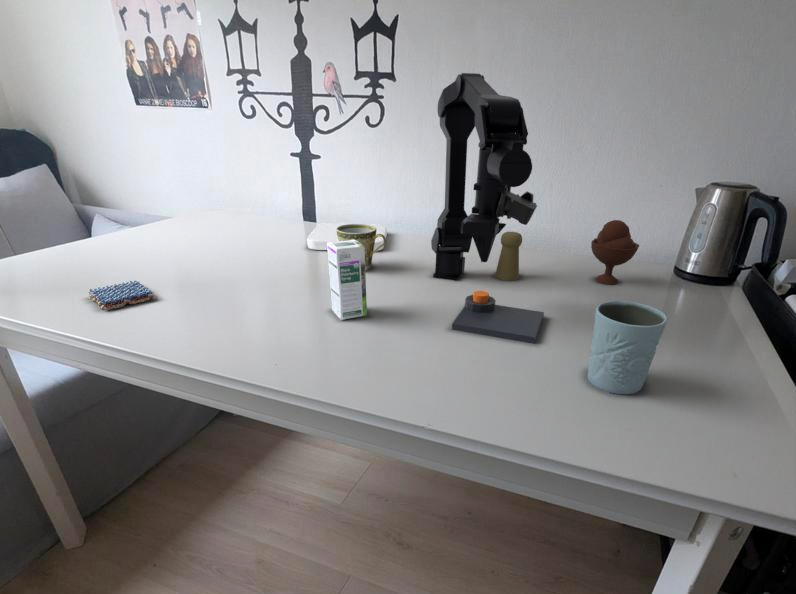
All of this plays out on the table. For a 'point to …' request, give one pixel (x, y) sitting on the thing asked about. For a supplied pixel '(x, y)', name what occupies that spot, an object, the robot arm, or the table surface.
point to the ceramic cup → (361, 238)
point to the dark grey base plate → (498, 321)
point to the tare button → (480, 296)
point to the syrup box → (347, 278)
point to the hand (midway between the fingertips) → (484, 261)
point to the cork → (509, 256)
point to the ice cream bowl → (613, 248)
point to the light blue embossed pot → (624, 345)
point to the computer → (329, 234)
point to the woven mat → (120, 295)
